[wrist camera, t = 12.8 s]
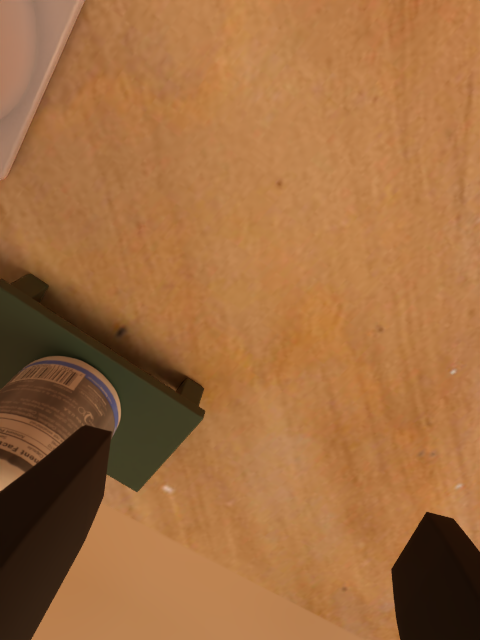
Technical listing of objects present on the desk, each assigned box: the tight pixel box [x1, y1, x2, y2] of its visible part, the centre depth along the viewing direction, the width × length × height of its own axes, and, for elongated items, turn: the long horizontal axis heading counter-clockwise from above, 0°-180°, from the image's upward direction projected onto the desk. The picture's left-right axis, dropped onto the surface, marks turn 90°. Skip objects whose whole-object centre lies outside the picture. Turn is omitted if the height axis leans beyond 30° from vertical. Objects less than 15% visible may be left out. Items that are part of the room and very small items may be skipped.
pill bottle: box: [0, 356, 121, 491], centre depth 15 cm, size 5×5×8 cm
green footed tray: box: [0, 273, 205, 492], centre depth 20 cm, size 10×6×2 cm, turn 54°
